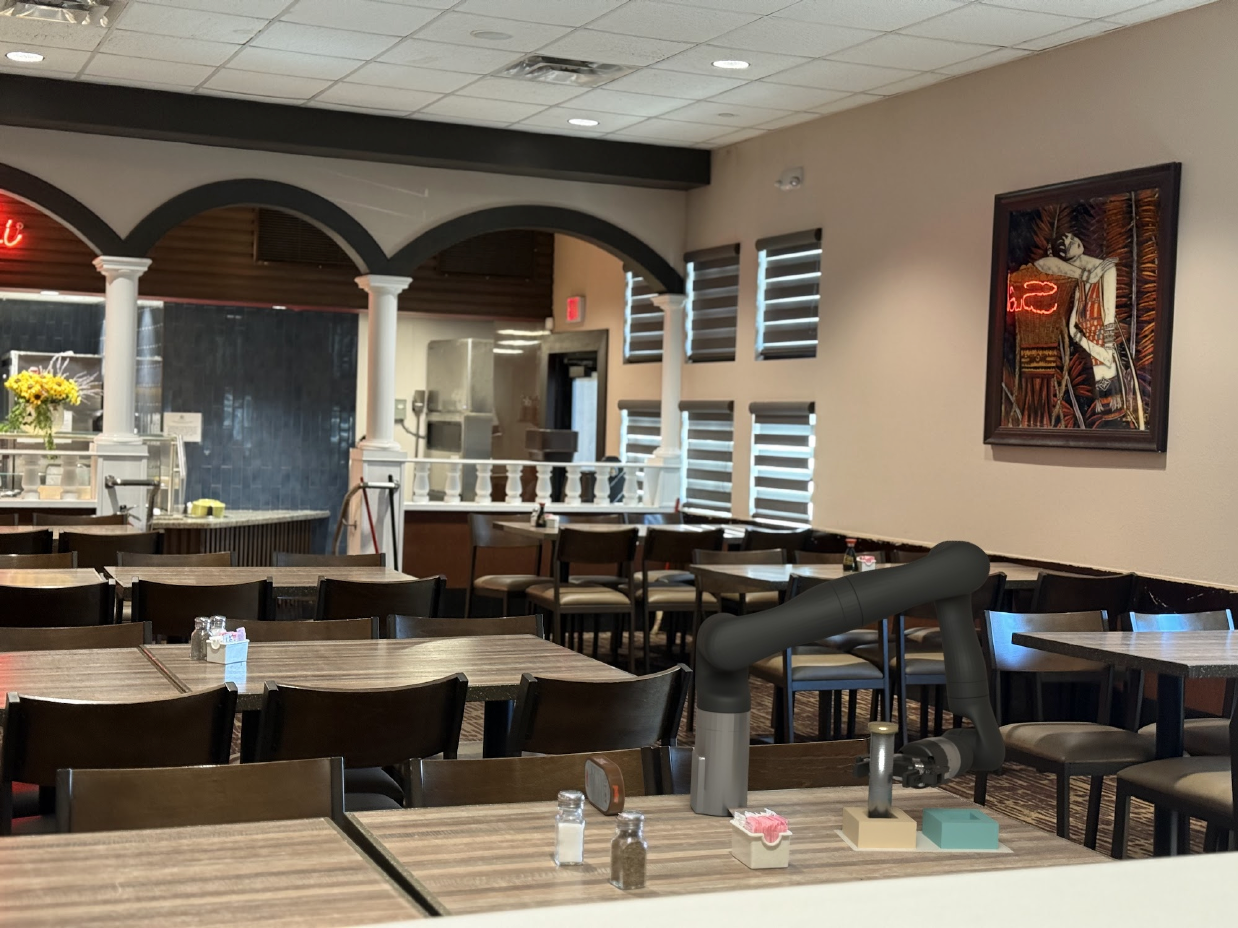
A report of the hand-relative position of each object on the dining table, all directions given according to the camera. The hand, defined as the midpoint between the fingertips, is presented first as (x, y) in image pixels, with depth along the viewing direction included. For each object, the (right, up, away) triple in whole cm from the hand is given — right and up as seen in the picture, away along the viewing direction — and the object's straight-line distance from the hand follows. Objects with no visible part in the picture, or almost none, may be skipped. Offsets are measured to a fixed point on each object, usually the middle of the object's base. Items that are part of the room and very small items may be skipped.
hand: (879, 776), depth 224 cm
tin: (-43, -10, +20) cm, 48 cm away
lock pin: (0, -10, 0) cm, 10 cm away
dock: (+7, -12, +1) cm, 14 cm away
